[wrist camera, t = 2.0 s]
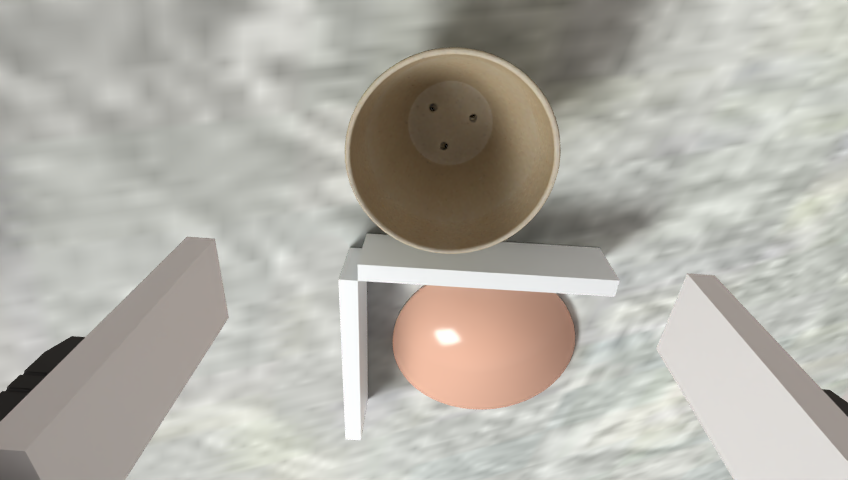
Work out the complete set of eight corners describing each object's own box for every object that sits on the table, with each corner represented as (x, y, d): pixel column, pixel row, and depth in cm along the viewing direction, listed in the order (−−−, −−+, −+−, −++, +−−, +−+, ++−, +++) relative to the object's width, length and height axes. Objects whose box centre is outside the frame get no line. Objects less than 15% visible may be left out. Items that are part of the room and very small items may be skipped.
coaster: (394, 261, 33) (394, 264, 32) (592, 273, 33) (594, 276, 32) (391, 400, 39) (390, 404, 39) (554, 410, 39) (555, 414, 39)
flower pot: (423, -8, 24) (417, -5, 18) (568, 97, 27) (607, 132, 21) (337, 146, 29) (308, 191, 22) (468, 225, 31) (476, 286, 25)
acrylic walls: (349, 232, 32) (337, 263, 28) (599, 247, 32) (619, 280, 28) (354, 398, 39) (345, 439, 36) (554, 411, 39) (565, 452, 36)
